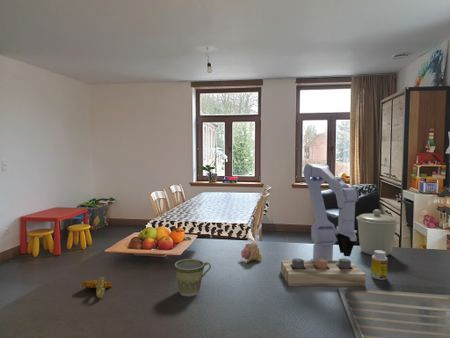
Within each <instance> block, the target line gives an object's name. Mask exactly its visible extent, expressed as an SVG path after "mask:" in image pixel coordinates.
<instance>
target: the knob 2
mask: <svg viewBox="0 0 450 338" xmlns="http://www.w3.org/2000/svg"><path fill="white" fill-rule="evenodd" d="M338 261H339V266H338V268H339V269H351V262H352V261H351V259H347V258H338Z"/></svg>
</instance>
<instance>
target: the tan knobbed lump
mask: <svg viewBox="0 0 450 338" xmlns="http://www.w3.org/2000/svg"><path fill="white" fill-rule="evenodd" d="M240 255H241V258H243V259H245V260H246V261H245V264H248V263H249V262H252V261H255V262H258V261H261V260H262V259H263V257H262V255H263V254H262V253H261V252H260V248H259V245H258V244H257V242H256V241H255V240H253V241H251V243H246V244H245V246H244V247H243V250H241V252H240Z"/></svg>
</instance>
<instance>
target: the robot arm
mask: <svg viewBox="0 0 450 338" xmlns="http://www.w3.org/2000/svg"><path fill="white" fill-rule="evenodd" d="M303 178H304V181H305V185H307V187H308V191H309V197H310V201H311V206H312V211H313V215H314V220H315V222H314V224H312V226H311V227H310V230H311V231H310V232H311V234H310V237H311V241H312V242H313V243H314V244H313V249H312V250H313V251H312V258H310V261H316V259H325V260H327V261H334V259H333V255H334V252H333V251H334V246H335V245H336V243H338V248H339V253H340V254H343V256H344V257H351V255H352V251H353V249H354V247H355V244H356V243H357V241H358V240H357V235H356V234H357V233H358V230H355V218H356V217H355V214H356V203H358V202H359V200H360V199H359V198H360V194H359V190H358V189H357V188H356V187H355V186H354V187H353V186H352V187H351V186H349V185H348V184H347V183H345V181H344V180H343V179H342V177H338V176H337V177H335V176H334V175H333V173H332V172H331V171H330V165H328V164H327V163H306V164H305V165H304V167H303ZM325 182H326V183H327V184H328V189H330V190H331V192H333V194H335V198H336V203H337V207H338V219H337V221H338V224H337V226H335V224H334V223H333V222H331V221H330V220H329V219H328V215H327V211H326V210H327V209H326V207H325V206H326V205H325V202H324V197H323V193H322V189H321V185H323V184H324V183H325Z"/></svg>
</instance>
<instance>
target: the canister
mask: <svg viewBox="0 0 450 338" xmlns="http://www.w3.org/2000/svg"><path fill="white" fill-rule="evenodd" d="M355 218H356V220H357V227H358V230H357V232H358V239H359V240H358V241H359V247H360V250H361V252H363V253H364V254H366V255H370V256H373V255H374V251H375V250H381V251H384V252H386V256H385V257H387V256H389V255H390V254H391V253H392V252H393V251H392V250H393V247H394V241H395V237H396V231H397V230H396V229H397V224H399V220H398V219H396V218H395V217H393V216H391V215H387V214H382V211H381V210H380V209H374V210H373V211H372V213H362V214H359V215H358V216H356V217H355Z"/></svg>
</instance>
